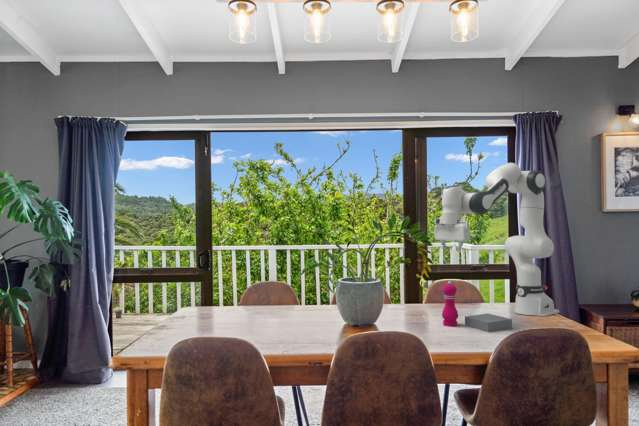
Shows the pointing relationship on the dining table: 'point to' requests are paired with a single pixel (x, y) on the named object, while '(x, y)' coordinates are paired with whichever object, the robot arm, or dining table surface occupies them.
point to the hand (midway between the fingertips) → (451, 250)
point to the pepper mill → (449, 305)
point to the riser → (488, 322)
